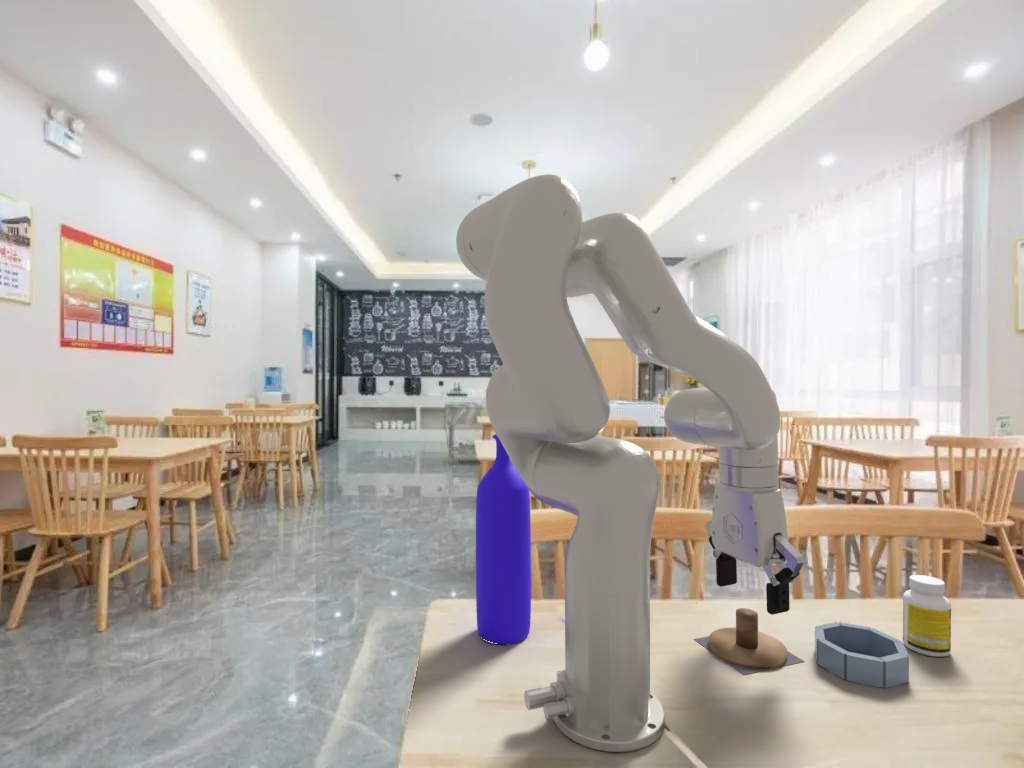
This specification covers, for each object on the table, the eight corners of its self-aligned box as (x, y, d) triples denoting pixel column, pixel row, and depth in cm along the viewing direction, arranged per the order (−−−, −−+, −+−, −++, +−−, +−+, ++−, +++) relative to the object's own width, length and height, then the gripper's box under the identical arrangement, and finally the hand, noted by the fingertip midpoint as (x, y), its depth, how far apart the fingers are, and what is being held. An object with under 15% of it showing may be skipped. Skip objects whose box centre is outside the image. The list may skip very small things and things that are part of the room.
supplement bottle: (959, 660, 74) (960, 588, 73) (914, 656, 75) (914, 585, 75) (937, 641, 79) (937, 573, 79) (895, 637, 80) (895, 571, 80)
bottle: (541, 629, 83) (540, 433, 83) (512, 652, 76) (511, 438, 76) (496, 616, 88) (495, 430, 87) (465, 637, 81) (463, 435, 80)
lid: (743, 674, 69) (743, 634, 69) (693, 639, 79) (693, 603, 79) (804, 661, 72) (804, 622, 72) (749, 628, 82) (749, 594, 82)
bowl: (867, 699, 65) (867, 666, 65) (798, 658, 74) (798, 629, 74) (925, 683, 68) (925, 652, 68) (852, 646, 78) (852, 618, 78)
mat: (743, 679, 69) (743, 674, 69) (693, 643, 79) (693, 639, 79) (804, 665, 72) (804, 661, 72) (749, 632, 82) (749, 628, 82)
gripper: (686, 468, 82) (689, 579, 83) (775, 491, 66) (778, 630, 66) (727, 463, 85) (729, 572, 85) (822, 485, 68) (825, 619, 69)
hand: (751, 597), depth 76 cm, fingers open, 9 cm apart
